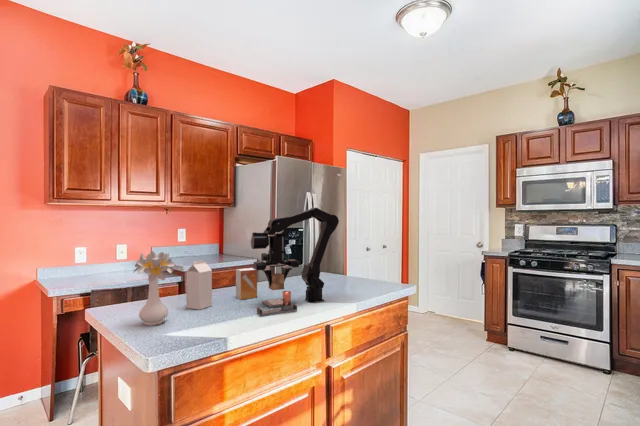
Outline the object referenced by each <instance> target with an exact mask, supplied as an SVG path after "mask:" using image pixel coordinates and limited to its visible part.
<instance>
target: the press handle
mask: <svg viewBox="0 0 640 426" xmlns="http://www.w3.org/2000/svg"><path fill="white" fill-rule="evenodd" d="M282 299H283V304H280V308H281V309H283V310H289V309H293V304H291V303H292V292H291V291H290V290H283V291H282ZM280 308H279V309H280Z"/></svg>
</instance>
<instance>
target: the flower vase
mask: <svg viewBox="0 0 640 426" xmlns="http://www.w3.org/2000/svg"><path fill="white" fill-rule="evenodd" d="M175 265H176V264H175V262H174V261H172V257H170V252H168V253H164V251H163V252H161V251H160V252H159V253H158V254H156V252H155V251H153V250H150V253H148V254H147V255H146V257H145V254H144V253H143V252H142V253H141V254H140V256H139V259H138V260H136V263H135V264H134V268H135V269H134V271H133V274H134V273H135V272H136V273H137V274H139V275H141V274H143V273H145V274H147V275H148V279H147V281H148V297H147V300H146V303H145V304H144V305H143V307H142V308H141V309H140V310H139V314H138V317H139V319H140V320H141V321H142V322H143V324H144V325H145V326H157V325H159V324H160V325H161V324H162V323H163V322H164V319H166V318H167V316H168V314H169V310H168V308H167V306H166V305H165V304H164V303H163V302H162V301H161V298H160V293H159V292H160V291H159V280H161V281H165V280H166V275H165V274H164V273H163V272H166V271H167V272H168V273H169V274H172V273H173V272H174V266H175Z"/></svg>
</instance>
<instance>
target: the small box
mask: <svg viewBox="0 0 640 426" xmlns="http://www.w3.org/2000/svg"><path fill="white" fill-rule="evenodd" d="M256 297H257V298H258V270H255V269H253V267H248V268H247V267H244V268H236V269H235V298H237V299H239V300H247V299H255V298H256ZM257 298H256V299H257Z"/></svg>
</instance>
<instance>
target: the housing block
mask: <svg viewBox="0 0 640 426" xmlns="http://www.w3.org/2000/svg"><path fill="white" fill-rule="evenodd" d="M271 277H272V283H271V286H270V285H269V284H268V289H270V290H271V291H279V290H284V289H285V281H284V275H283V274H282V272H281V273H280V272H279V273H278V272H277V273H276V272H275V273H271Z"/></svg>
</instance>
